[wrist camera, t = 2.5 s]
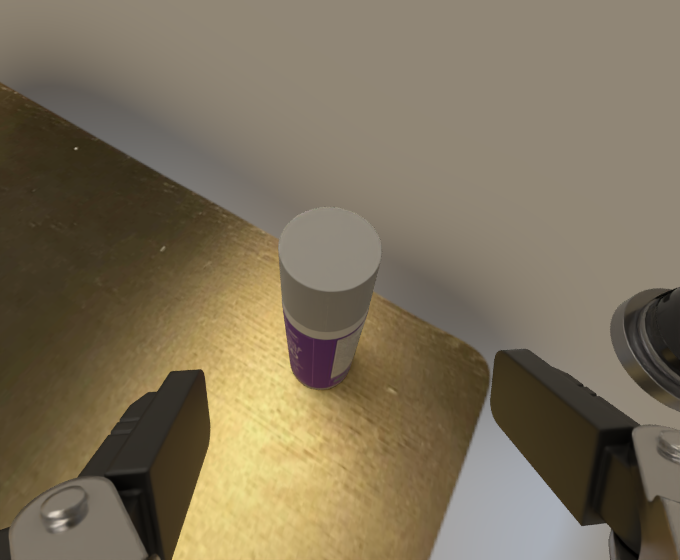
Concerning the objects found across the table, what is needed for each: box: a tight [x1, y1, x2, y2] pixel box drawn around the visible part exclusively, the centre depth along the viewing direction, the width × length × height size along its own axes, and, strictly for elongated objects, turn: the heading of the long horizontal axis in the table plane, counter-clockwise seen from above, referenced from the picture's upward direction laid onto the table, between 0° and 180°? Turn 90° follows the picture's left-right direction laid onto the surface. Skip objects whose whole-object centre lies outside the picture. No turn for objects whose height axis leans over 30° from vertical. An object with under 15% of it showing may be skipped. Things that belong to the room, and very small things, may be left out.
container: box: [278, 207, 382, 390], centre depth 22 cm, size 5×5×15 cm
